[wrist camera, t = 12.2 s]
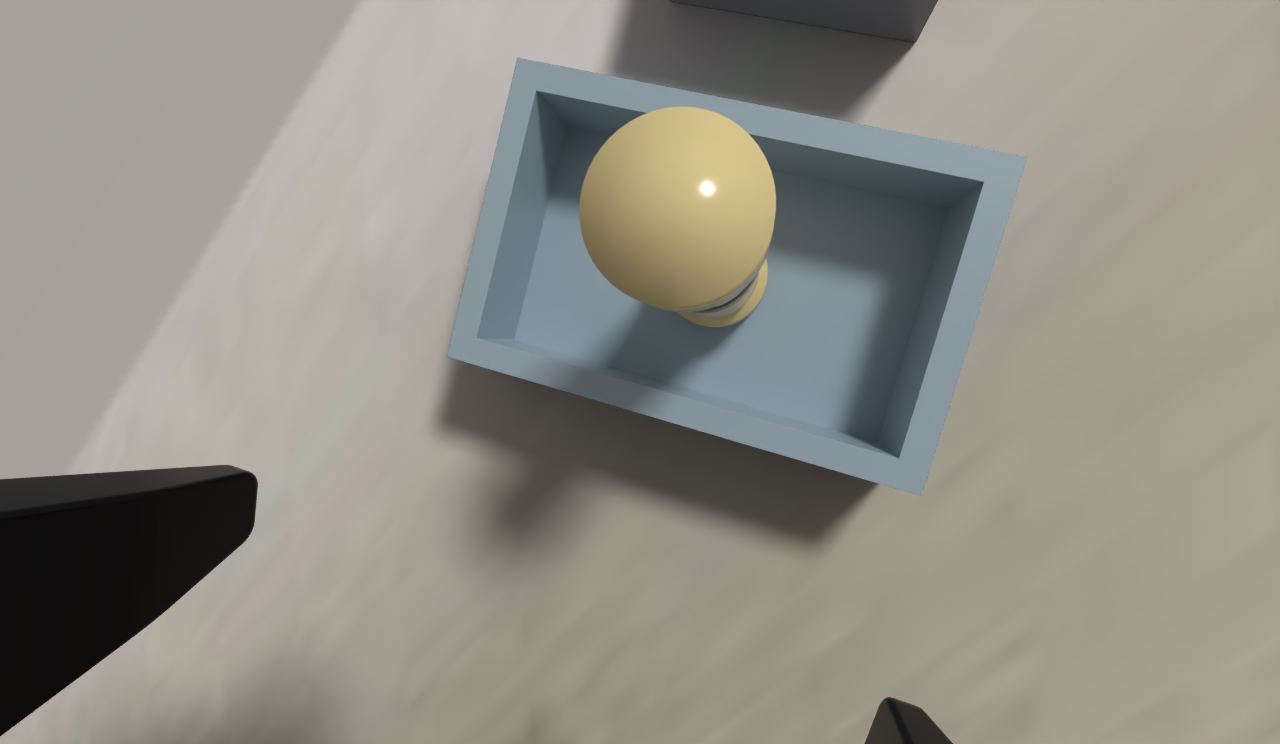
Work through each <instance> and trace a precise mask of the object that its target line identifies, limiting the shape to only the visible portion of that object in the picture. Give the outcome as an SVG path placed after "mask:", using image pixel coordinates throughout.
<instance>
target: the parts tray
mask: <svg viewBox="0 0 1280 744" xmlns="http://www.w3.org/2000/svg"><path fill="white" fill-rule="evenodd" d="M669 107H695V108H701V109H706V110H709V111H712V112H715V113H718V114H720V115H722V116H724V117H726V118H728V119H730V120H732V121H733V122H735V123H736V124H738V125H739V126H740V127H742V128H743V129H744V130H745V131H746V132H747V133H748V134H749V135H750V136H751V137H752V138H753V139H754V141H755V142H756V143H757V144H758V146H759V147H760V149H761V150H762V152H763V154H764V155H765V157H766V159H767V162H768V164H769V166H770V169H771V172H772V176H773V179H774V184H775V191H776V213H775V220H774V228H773V236H772V241H771V245H770V249H769V252H768V254H767V257H766V260H767V266H768V276H767V284H766V289H765V293H764V295H763V298H762V300H761V302H760V303H759V305H758V306H757V308H756V309H755V310H754V311H753V312H752V313H751V314H750V315H749V316H748V317H747V318H745V319H744V320H742V321H741V322H739V323H737V324H734V325H731V326H728V327H722V328H710V327H704V326H701V325H698V324H696V323H693V322H691V321H689V320H687V319H685V318H683V317H682V316H681V315H679V314H678V313H677V312H672V311H667V310H663V309H659V308H656V307H654V306H651V305H649V304H646V303H644V302H641V301H639V300H636V299H634V298H632V297H630V296H628V295H626V294H625V293H623V292H621V291H620V290H619V289H617V288H616V287H615V286H613V285H612V284H611V283H610V282H609V281H608V280H607V279H606V278H605V277H604V276H603V275H602V274H601V272H600V271H599V270H598V269H597V267H596V266H595V264H594V262H593V261H592V259H591V257H590V256H589V253H588V251H587V249H586V246H585V244H584V240H583V236H582V233H581V227H580V220H579V205H580V195H581V191H582V186H583V182H584V179H585V176H586V174H587V171H588V169H589V167H590V165H591V163H592V161H593V159H594V157H595V156H596V154H597V153H598V151H599V150H600V148H601V147H602V146H603V145H604V143H605V142H606V141H607V140H608V139H609V138H610V137H611V136H612V135H613V134H614V133H615V132H616V131H618V130H619V129H620V128H621V127H623V126H624V125H626V124H627V123H628V122H630V121H632V120H634V119H635V118H637V117H639V116H641V115H644V114H646V113H649V112H652V111H655V110H659V109H663V108H669ZM1026 160H1027V157H1025V156H1020V155H1015V154H1010V153H1005V152H1000V151H995V150H989V149H984V148H979V147H974V146H969V145H964V144H959V143H953V142H948V141H943V140H938V139H933V138H928V137H923V136H918V135H912V134H907V133H902V132H897V131H892V130H887V129H882V128H876V127H871V126H866V125H861V124H856V123H851V122H846V121H840V120H835V119H830V118H825V117H820V116H815V115H810V114H804V113H799V112H794V111H789V110H784V109H779V108H774V107H769V106H763V105H758V104H753V103H748V102H743V101H738V100H733V99H727V98H722V97H717V96H712V95H707V94H702V93H697V92H691V91H686V90H681V89H676V88H671V87H666V86H661V85H655V84H650V83H645V82H640V81H635V80H630V79H625V78H620V77H614V76H609V75H604V74H599V73H594V72H589V71H584V70H578V69H573V68H568V67H563V66H558V65H553V64H548V63H542V62H537V61H532V60H527V59H522V58H517V61H516V65H515V70H514V74H513V78H512V82H511V87H510V91H509V95H508V99H507V103H506V108H505V112H504V116H503V120H502V125H501V129H500V133H499V137H498V141H497V146H496V150H495V154H494V158H493V163H492V167H491V171H490V175H489V180H488V184H487V188H486V192H485V196H484V201H483V205H482V209H481V213H480V218H479V222H478V226H477V230H476V235H475V239H474V243H473V247H472V251H471V256H470V260H469V264H468V268H467V273H466V277H465V281H464V285H463V290H462V294H461V298H460V302H459V306H458V311H457V315H456V319H455V323H454V328H453V332H452V336H451V340H450V345H449V349H448V353H447V357H450V358H453V359H456V360H460V361H463V362H467V363H470V364H473V365H477V366H480V367H484V368H487V369H490V370H494V371H497V372H501V373H504V374H507V375H511V376H514V377H518V378H521V379H524V380H528V381H531V382H535V383H538V384H541V385H545V386H548V387H552V388H555V389H558V390H562V391H565V392H569V393H572V394H575V395H579V396H582V397H586V398H589V399H593V400H596V401H599V402H603V403H606V404H610V405H613V406H616V407H620V408H623V409H627V410H630V411H633V412H637V413H640V414H644V415H647V416H650V417H654V418H657V419H661V420H664V421H667V422H671V423H674V424H678V425H681V426H684V427H688V428H691V429H695V430H698V431H701V432H705V433H708V434H712V435H715V436H718V437H722V438H725V439H729V440H732V441H735V442H739V443H742V444H746V445H749V446H752V447H756V448H759V449H763V450H766V451H769V452H773V453H776V454H780V455H783V456H786V457H790V458H793V459H797V460H800V461H803V462H807V463H810V464H814V465H817V466H820V467H824V468H827V469H831V470H834V471H838V472H841V473H844V474H848V475H851V476H855V477H858V478H861V479H865V480H868V481H872V482H875V483H878V484H882V485H885V486H889V487H892V488H895V489H899V490H902V491H906V492H909V493H912V494H916V495H919V496H921V495H922V492H923V489H924V486H925V483H926V479H927V476H928V473H929V470H930V467H931V463H932V460H933V457H934V454H935V451H936V447H937V444H938V441H939V438H940V435H941V431H942V428H943V425H944V422H945V419H946V415H947V412H948V409H949V406H950V403H951V399H952V396H953V393H954V390H955V387H956V383H957V380H958V377H959V374H960V371H961V367H962V364H963V361H964V358H965V355H966V351H967V348H968V345H969V342H970V339H971V336H972V332H973V329H974V326H975V323H976V320H977V316H978V313H979V310H980V307H981V304H982V300H983V297H984V294H985V291H986V288H987V284H988V281H989V278H990V275H991V272H992V268H993V265H994V262H995V259H996V256H997V252H998V249H999V246H1000V243H1001V240H1002V236H1003V233H1004V230H1005V227H1006V224H1007V220H1008V217H1009V214H1010V211H1011V208H1012V204H1013V201H1014V198H1015V195H1016V192H1017V188H1018V185H1019V182H1020V179H1021V176H1022V172H1023V169H1024V166H1025V163H1026Z"/></svg>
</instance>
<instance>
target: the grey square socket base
mask: <svg viewBox="0 0 1280 744" xmlns="http://www.w3.org/2000/svg"><path fill="white" fill-rule="evenodd" d="M669 1H673V2H679V3H685V4H691V5H697V6H703V7H709V8H715V9H721V10H727V11H733V12H739V13H744V14H750V15H756V16H762V17H768V18H774V19H780V20H786V21H792V22H798V23H804V24H810V25H815V26H821V27H827V28H833V29H839V30H845V31H851V32H857V33H863V34H869V35H875V36H881V37H886V38H892V39H898V40H904V41H910V42H916V41H917V39H918V37H919V36H920V34H921V32H922V30H923V28H924V26H925V24H926V22H927V20H928V18H929V16H930V15H931V13H932V11H933V9H934V7H935V5H936V3H937V1H938V0H669Z"/></svg>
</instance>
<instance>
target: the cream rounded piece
mask: <svg viewBox="0 0 1280 744" xmlns="http://www.w3.org/2000/svg"><path fill="white" fill-rule="evenodd" d="M775 213H776V191H775V184H774V179H773V176H772V172H771V169H770V166H769V164H768V162H767V159H766V157H765V155H764V154H763V152H762V150H761V149H760V147H759V146H758V144H757V143H756V142H755V141H754V139H753V138H752V137H751V136H750V135H749V134H748V133H747V132H746V131H745V130H744V129H743V128H742V127H740V126H739V125H738V124H736V123H735V122H733V121H732V120H730V119H728V118H726V117H724V116H722V115H720V114H718V113H715V112H712V111H709V110H706V109H701V108H695V107H669V108H663V109H659V110H655V111H652V112H649V113H646V114H644V115H641V116H639V117H637V118H635V119H634V120H632V121H630V122H628V123H627V124H626V125H624V126H623V127H621V128H620V129H619V130H618V131H616V132H615V133H614V134H613V135H612V136H611V137H610V138H609V139H608V140H607V141H606V142H605V143H604V145H603V146H602V147H601V148H600V150H599V151H598V153H597V154H596V156H595V157H594V159H593V161H592V163H591V165H590V167H589V169H588V171H587V174H586V176H585V179H584V182H583V186H582V191H581V195H580V205H579V220H580V227H581V233H582V236H583V240H584V244H585V246H586V249H587V251H588V253H589V256H590V257H591V259H592V261H593V262H594V264H595V266H596V267H597V269H598V270H599V271H600V272H601V274H602V275H603V276H604V277H605V278H606V279H607V280H608V281H609V282H610V283H611V284H612V285H613V286H615V287H616V288H617V289H619V290H620V291H621V292H623V293H625V294H626V295H628V296H630V297H632V298H634V299H636V300H639V301H641V302H644V303H646V304H649V305H651V306H654V307H656V308H659V309H663V310H667V311H672V312H677V313H678V314H679V315H681V316H682V317H683V318H685V319H687V320H689V321H691V322H693V323H696V324H698V325H701V326H704V327H710V328H722V327H728V326H731V325H734V324H737V323H739V322H741V321H742V320H744V319H745V318H747V317H748V316H749V315H750V314H751V313H752V312H753V311H754V310H755V309H756V308H757V306H758V305H759V303H760V302H761V300H762V298H763V295H764V293H765V289H766V284H767V276H768V266H767V260H766V257H767V254H768V252H769V249H770V245H771V241H772V236H773V228H774V220H775Z"/></svg>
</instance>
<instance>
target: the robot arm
mask: <svg viewBox="0 0 1280 744" xmlns="http://www.w3.org/2000/svg"><path fill="white" fill-rule="evenodd" d="M257 488H258V482H257V479H256V476H255V475H254V474H253V473H251V472H248V471H245V470H243V469H240V468H237V467H234V466H231V465H217V466H201V467H185V468H170V469H154V470H139V471H123V472H108V473H92V474H77V475H61V476H45V477H30V478H14V479H0V736H1V735H3V734H4V733H5V732H7V731H8V730H9V729H11V728H12V727H13V726H15V725H16V724H17V723H19V722H20V721H21V720H23V719H24V718H25V717H27V716H28V715H29V714H31V713H32V712H33V711H35V710H36V709H37V708H39V707H40V706H41V705H43V704H44V703H45V702H47V701H48V700H49V699H51V698H52V697H53V696H55V695H56V694H57V693H59V692H60V691H61V690H63V689H64V688H65V687H67V686H68V685H69V684H71V683H72V682H73V681H75V680H76V679H78V678H79V677H80V676H82V675H83V674H84V673H86V672H87V671H88V670H90V669H91V668H92V667H94V666H95V665H96V664H98V663H99V662H100V661H102V660H103V659H104V658H106V657H107V656H108V655H110V654H111V653H112V652H114V651H115V650H116V649H118V648H119V647H120V646H122V645H123V644H124V643H126V642H127V641H128V640H130V639H131V638H132V637H134V636H135V635H136V634H138V633H139V632H140V631H141V630H143V629H144V628H145V627H147V626H148V625H149V624H150V623H152V622H153V621H154V620H155V619H157V618H158V617H159V616H160V615H161V614H163V613H164V612H165V611H166V610H167V609H168V608H170V607H171V606H172V605H173V604H174V603H175V602H176V601H178V600H179V599H180V598H181V597H182V596H183V595H184V594H186V593H187V592H188V591H189V590H190V589H191V588H192V587H194V586H195V585H196V584H197V583H198V582H199V581H200V580H202V579H203V578H204V577H205V576H206V575H207V574H208V573H210V572H211V571H212V570H213V569H214V568H215V567H216V566H218V565H219V564H220V563H221V562H222V561H223V560H224V559H226V558H227V557H228V556H229V555H230V554H231V553H232V552H234V551H235V550H236V549H237V548H238V547H239V546H240V545H242V544H243V543H244V542H245V541H246V539H247V538H248V537H249V535H250V534H251V532H252V530H253V527H254V522H255V511H256V500H257ZM865 744H953V743H952V742H951V741H950V740H949V739H948V738H947V736H946V735H945V734H944V733H943V732H942V731H941V730H940V729H939V727H938V726H937V725H936V724H935V723H934V722H933V721H932V720H931V718H930V717H929V716H928V715H927V714H926V713H925V712H924V711H923V710H922V709H921V708H919V707H917V706H915V705H912V704H909V703H906V702H903V701H900V700H897V699H895V698H891V697H888V698H885V699H884V700H883V701H882V702H881V704H880V706H879V708H878V710H877V713H876V716H875V718H874V721H873V723H872V726H871V729H870V731H869V734H868V736H867V739H866V741H865Z"/></svg>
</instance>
